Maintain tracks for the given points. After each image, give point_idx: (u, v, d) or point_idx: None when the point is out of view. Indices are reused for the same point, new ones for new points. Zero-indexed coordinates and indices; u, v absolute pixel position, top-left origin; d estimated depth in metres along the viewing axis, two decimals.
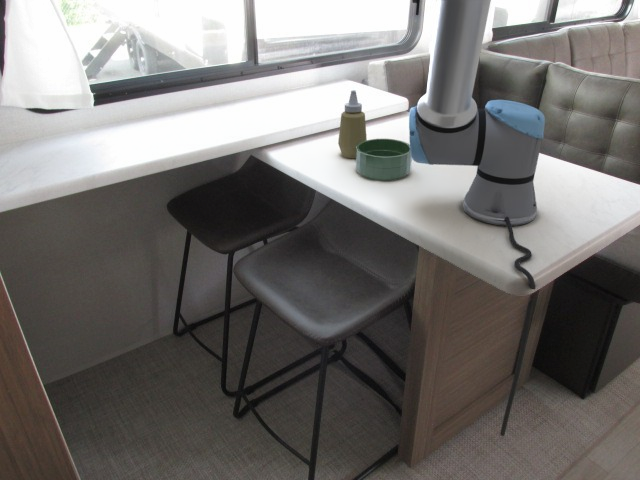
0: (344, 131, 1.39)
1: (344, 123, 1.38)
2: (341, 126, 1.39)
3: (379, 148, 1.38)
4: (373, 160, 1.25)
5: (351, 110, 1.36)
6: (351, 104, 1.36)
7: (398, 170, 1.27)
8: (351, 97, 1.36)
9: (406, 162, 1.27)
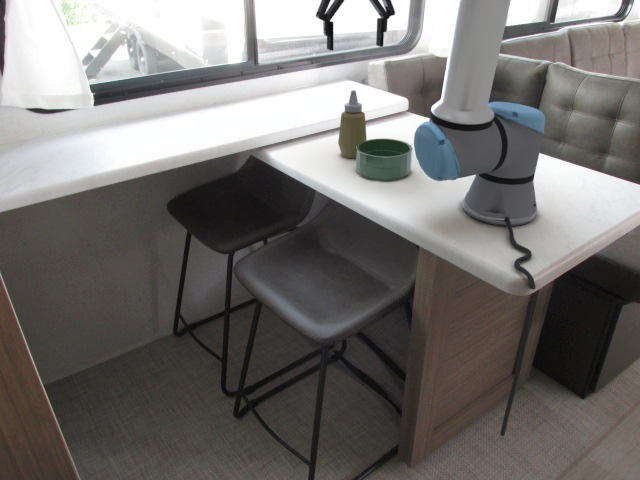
0: (344, 131, 1.39)
1: (344, 123, 1.38)
2: (341, 126, 1.39)
3: (379, 148, 1.38)
4: (373, 160, 1.25)
5: (351, 110, 1.36)
6: (351, 104, 1.36)
7: (398, 170, 1.27)
8: (351, 97, 1.36)
9: (406, 162, 1.27)
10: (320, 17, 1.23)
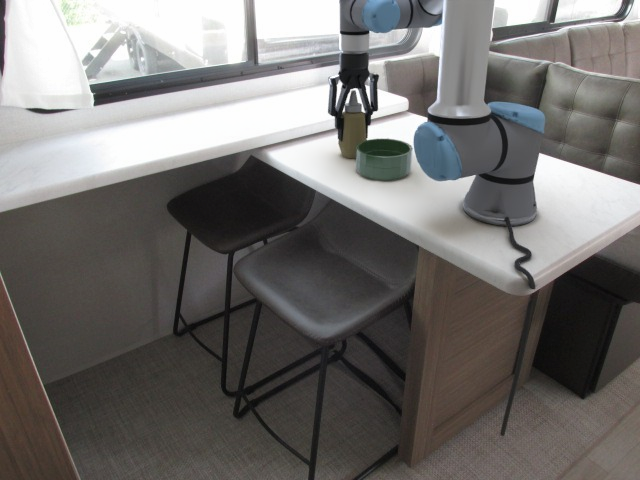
0: (344, 131, 1.39)
1: (344, 123, 1.38)
2: None
3: (379, 148, 1.38)
4: (373, 160, 1.25)
5: (351, 110, 1.36)
6: (351, 104, 1.36)
7: (398, 170, 1.27)
8: (351, 97, 1.36)
9: (406, 162, 1.27)
10: (332, 114, 1.36)
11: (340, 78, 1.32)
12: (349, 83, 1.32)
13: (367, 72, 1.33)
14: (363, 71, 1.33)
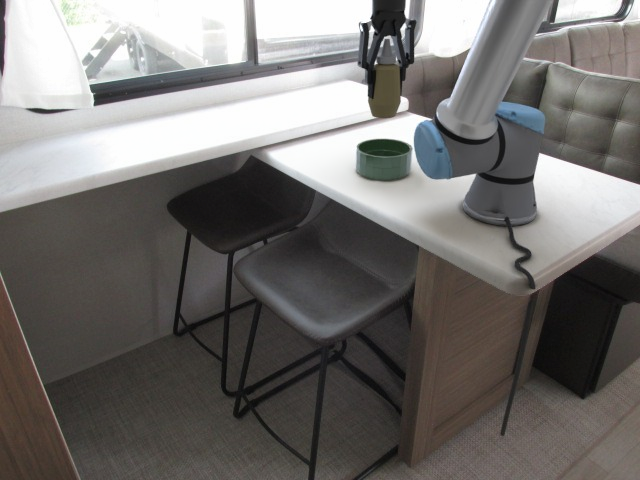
0: (375, 87, 1.21)
1: None
2: None
3: (379, 148, 1.38)
4: (373, 160, 1.25)
5: (384, 61, 1.19)
6: (384, 54, 1.19)
7: (398, 170, 1.27)
8: (384, 46, 1.19)
9: (406, 162, 1.27)
10: (363, 66, 1.18)
11: (373, 23, 1.15)
12: (383, 29, 1.15)
13: (403, 17, 1.16)
14: (399, 15, 1.16)
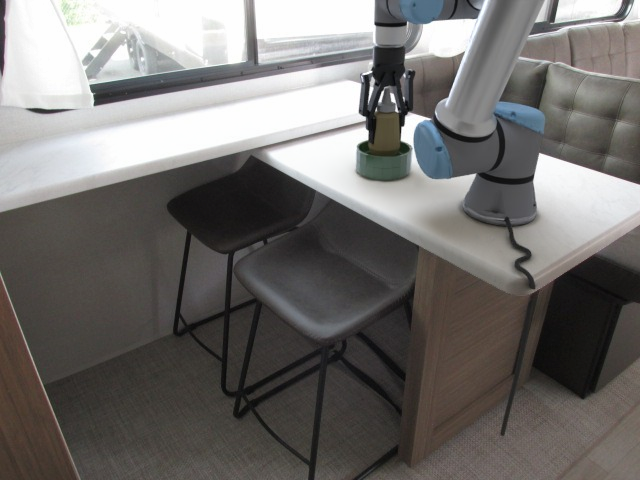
0: (375, 133, 1.26)
1: (376, 124, 1.25)
2: None
3: None
4: (373, 160, 1.25)
5: (384, 110, 1.24)
6: (384, 103, 1.24)
7: (398, 170, 1.27)
8: (384, 95, 1.24)
9: (406, 162, 1.27)
10: (364, 115, 1.23)
11: (373, 75, 1.20)
12: (383, 80, 1.20)
13: (403, 68, 1.21)
14: (398, 67, 1.21)
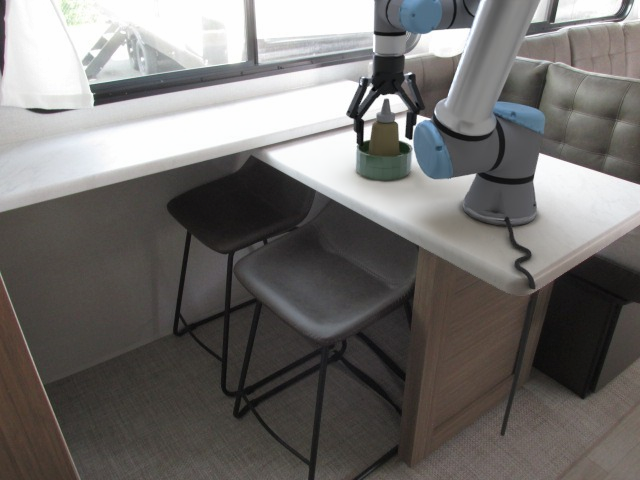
0: (375, 143, 1.27)
1: (375, 134, 1.27)
2: (372, 137, 1.28)
3: None
4: (373, 160, 1.25)
5: (384, 120, 1.25)
6: (384, 113, 1.25)
7: (398, 170, 1.27)
8: (384, 106, 1.25)
9: (406, 162, 1.27)
10: (351, 116, 1.22)
11: (373, 83, 1.21)
12: (383, 88, 1.21)
13: (402, 76, 1.22)
14: (398, 75, 1.21)
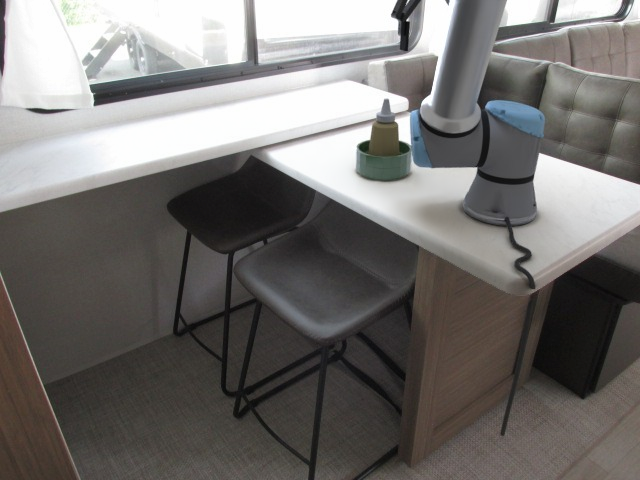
0: (375, 143, 1.27)
1: (375, 134, 1.27)
2: (372, 137, 1.28)
3: None
4: (373, 160, 1.25)
5: (384, 120, 1.25)
6: (384, 113, 1.25)
7: (398, 170, 1.27)
8: (384, 106, 1.25)
9: (406, 162, 1.27)
10: (397, 16, 1.17)
11: None
12: None
13: None
14: None
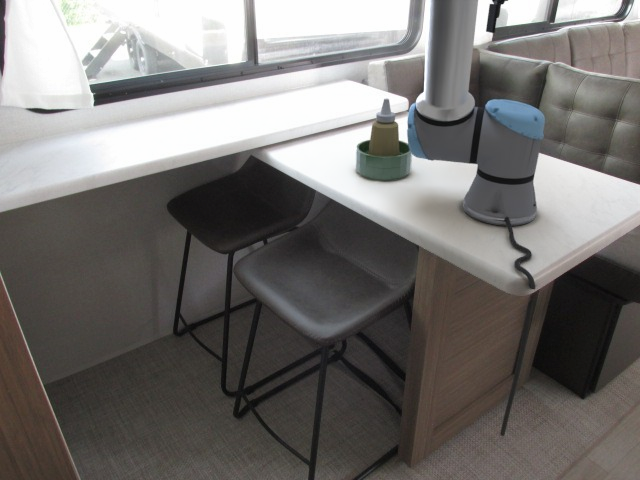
0: (375, 143, 1.27)
1: (375, 134, 1.27)
2: (372, 137, 1.28)
3: None
4: (373, 160, 1.25)
5: (384, 120, 1.25)
6: (384, 113, 1.25)
7: (398, 170, 1.27)
8: (384, 106, 1.25)
9: (406, 162, 1.27)
10: None
11: None
12: None
13: None
14: None
